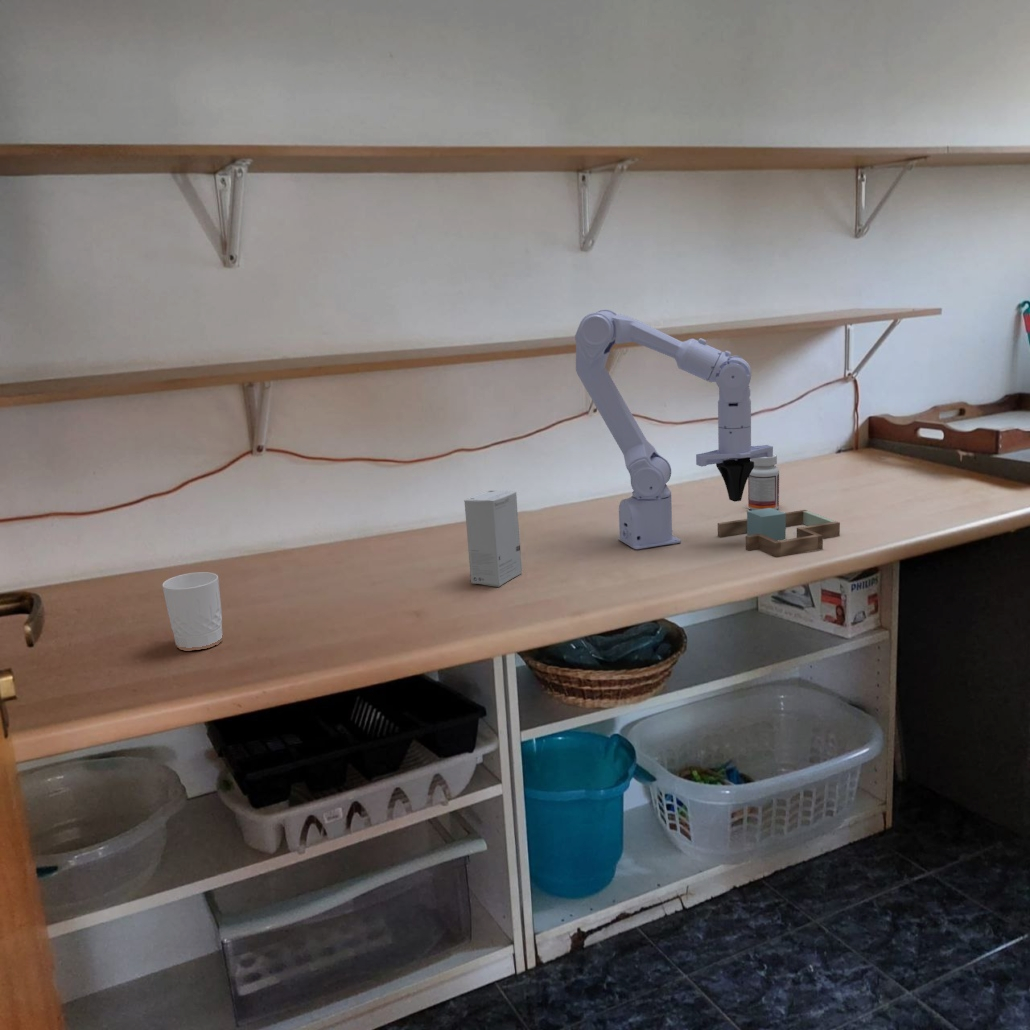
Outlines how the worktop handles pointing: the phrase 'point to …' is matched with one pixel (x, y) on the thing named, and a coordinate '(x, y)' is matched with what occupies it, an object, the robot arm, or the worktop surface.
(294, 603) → the worktop surface
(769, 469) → the pill bottle
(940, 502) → the worktop surface
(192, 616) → the white cup
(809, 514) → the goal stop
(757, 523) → the teal block
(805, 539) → the brown frame
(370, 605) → the worktop surface
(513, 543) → the skincare box
